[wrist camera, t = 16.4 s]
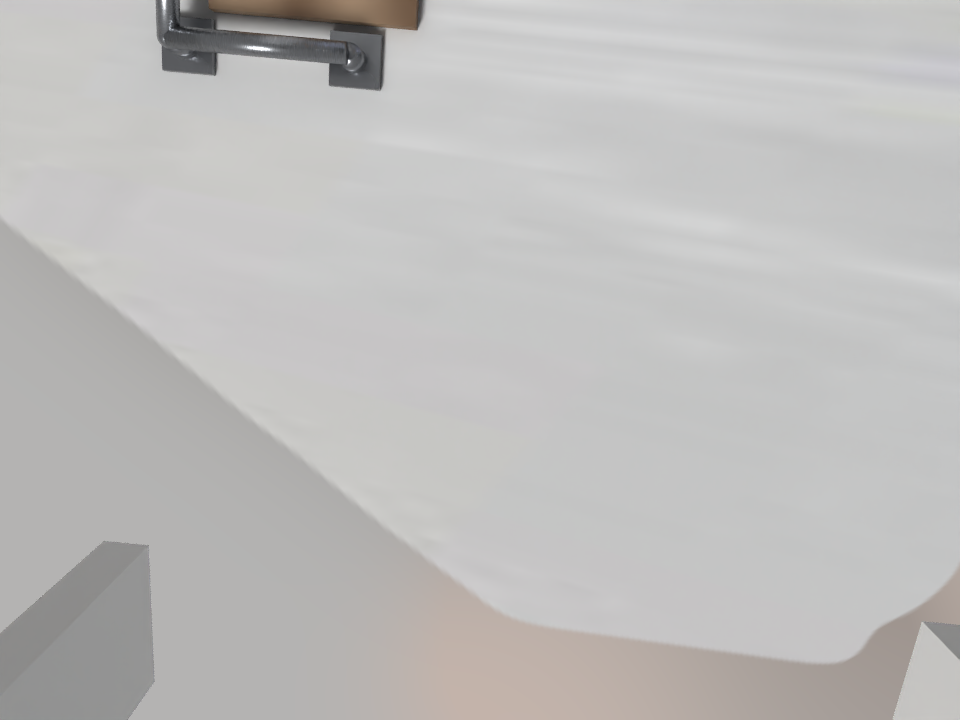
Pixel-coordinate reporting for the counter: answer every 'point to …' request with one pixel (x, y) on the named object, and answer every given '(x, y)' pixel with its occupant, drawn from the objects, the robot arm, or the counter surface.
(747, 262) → the counter surface
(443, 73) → the counter surface
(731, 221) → the counter surface
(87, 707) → the robot arm
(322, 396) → the counter surface
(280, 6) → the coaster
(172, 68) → the rail
